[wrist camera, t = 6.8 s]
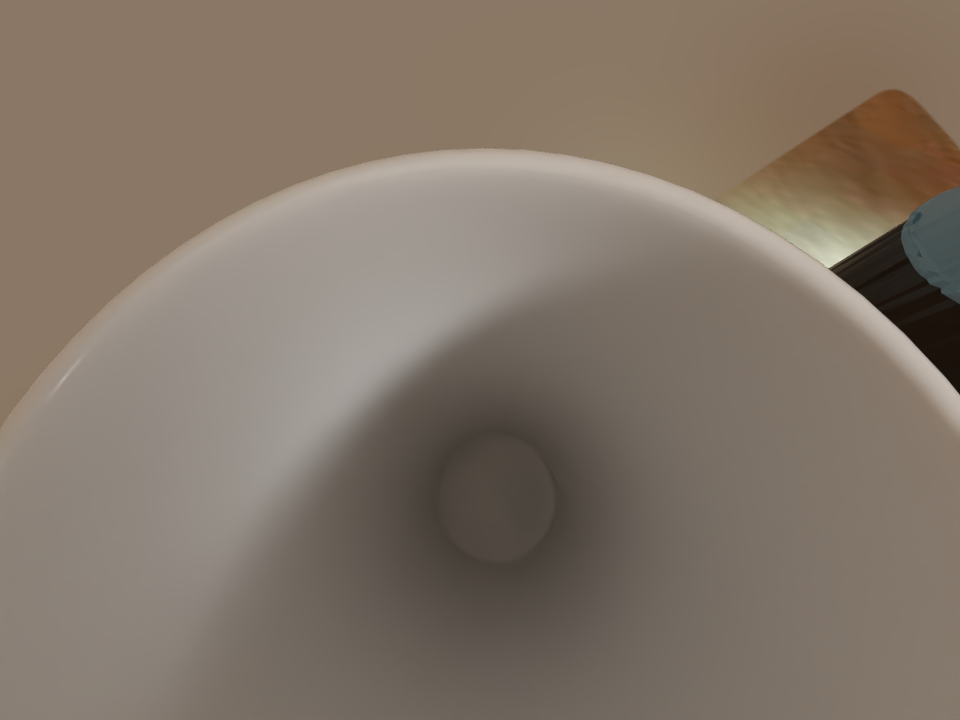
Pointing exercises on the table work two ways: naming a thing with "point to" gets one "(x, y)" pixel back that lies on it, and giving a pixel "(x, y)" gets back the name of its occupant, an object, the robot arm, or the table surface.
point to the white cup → (483, 469)
